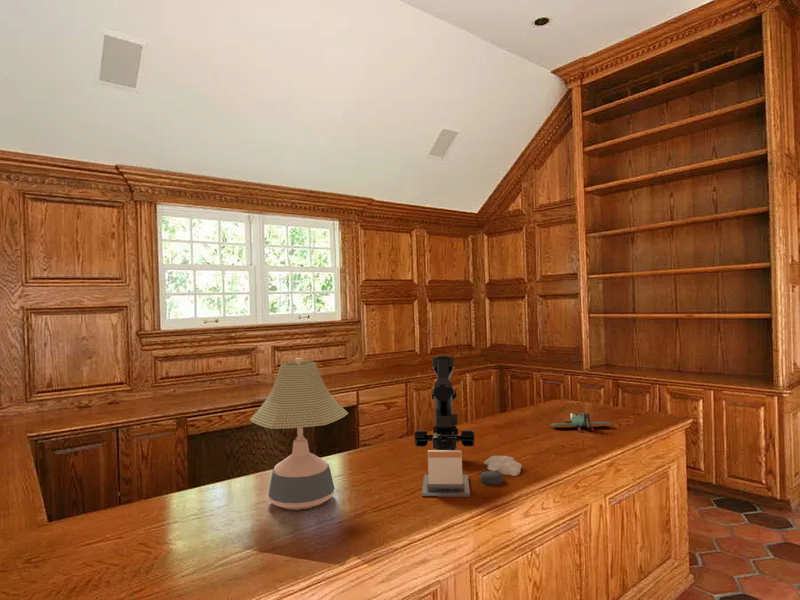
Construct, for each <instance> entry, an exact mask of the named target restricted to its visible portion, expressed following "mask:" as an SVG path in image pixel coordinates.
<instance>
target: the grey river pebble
mask: <svg viewBox="0 0 800 600" xmlns="http://www.w3.org/2000/svg"><path fill="white" fill-rule="evenodd" d="M480 482H481V484H484V485H486V486H492V485H495V486H500V485H502V484H503V483H504V475H503V474H502V473H501V472H497V471H490V470H486V471H483V472H481V473H480Z"/></svg>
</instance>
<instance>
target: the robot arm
mask: <svg viewBox="0 0 800 600" xmlns="http://www.w3.org/2000/svg"><path fill="white" fill-rule="evenodd" d="M431 360H432V361H431V362H432V363H431V367H432V369H433V370H434V375H435V377H436V378H437V380H436V381H435V382H434V383H433V388H432V389H431V400H433V401H434V425H433V426H432V429H433V431H432V434H428V430H427V429H423V430H422V429H421V430H420V429H418V430H417V429H416V430H415V431H414V437H413V438H414V445H415V447H418V448H419V447H423V448H424V447H426V446H428V442H432V448H433V449H434V450H456V449H457V443H458V442H461V445H462V446H463V447H474V446H475V431H474V430H473V429H462V430H461V434H459V428H457V426H458V425H459V424H458V423H459V422H458V420H459V419H458V414H457V413H456V414H455V413H453V402H454V401H453V400H455V399H456V398H457V396H458V395H457V392H456V389H455V388H453V382H452V381H451V380H450V379H451V377H452V376H453V369H455V358H454V357H451V356H450V355H437V356H435V357H432V358H431Z"/></svg>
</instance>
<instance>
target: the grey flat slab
mask: <svg viewBox="0 0 800 600" xmlns="http://www.w3.org/2000/svg"><path fill="white" fill-rule="evenodd" d="M462 481H463V483H464V489H427V483H429V476H428V474H424V475H423V480H422V488H421V489H422V490H421V497H422V496H427V497H426V498H429V497H428V496H438V497H439V498H440V497H442V496H443V497H444V498H446V497H447V498H449V497H450V498H451V497H452V498H453V497H454V498H461V497H462V498H463V497H464V498H470V497H471V489H470V482H469V474H462ZM438 497H437V498H438ZM443 497H442V498H443Z"/></svg>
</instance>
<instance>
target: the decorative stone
mask: <svg viewBox="0 0 800 600" xmlns="http://www.w3.org/2000/svg"><path fill="white" fill-rule="evenodd" d="M483 464H484V465H486V466H487V467H486V468H487V471H497V472H501V473H502V474H504V475H503V476H512V477H518V476H519V475H520V474H521V469H522V467H523V465H522V464H521V463H520V462H517V461H516V460H515V459H514V458H513V457H512V456H507V455H492V456H490V457H489V458H487V459H486V460H485V461H483Z"/></svg>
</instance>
